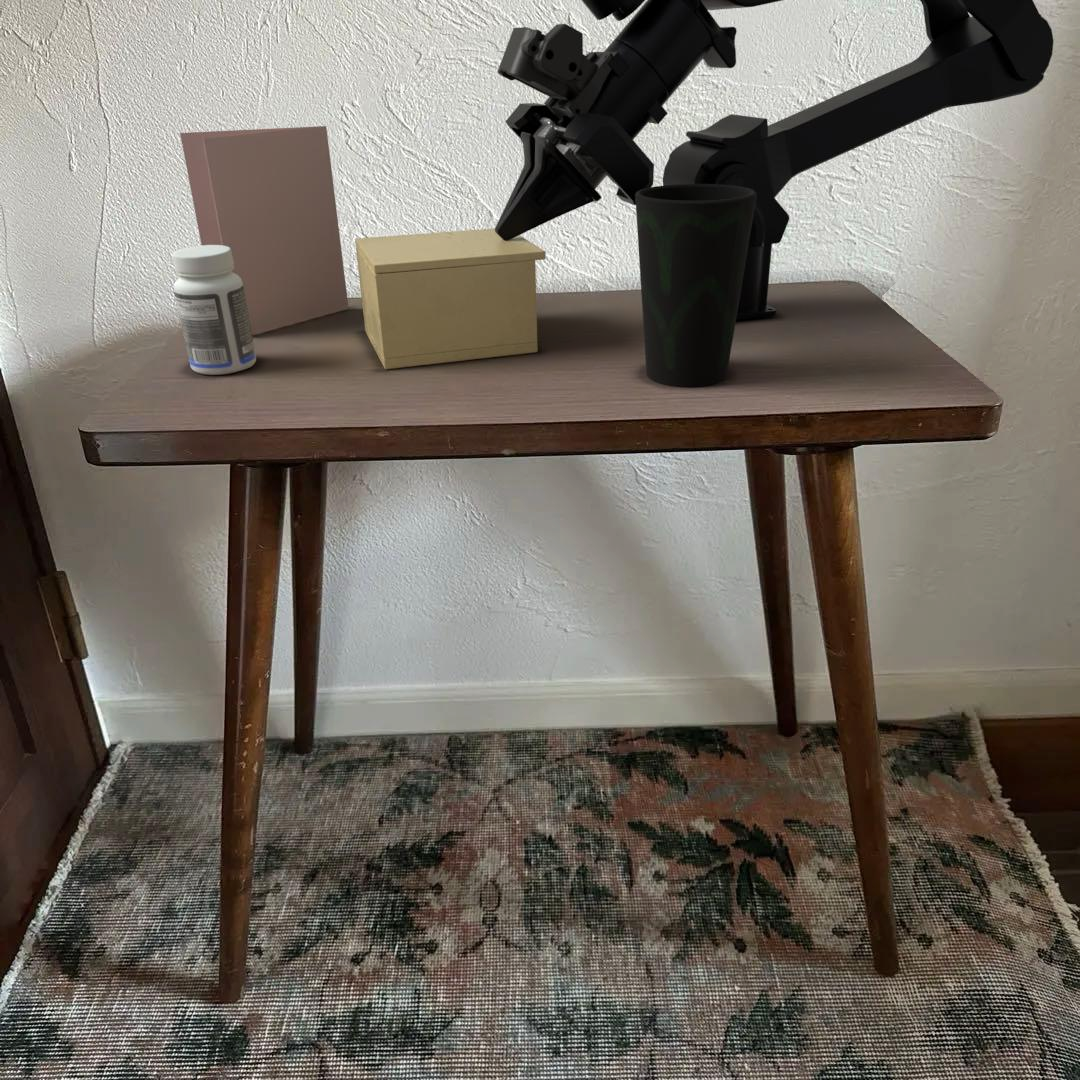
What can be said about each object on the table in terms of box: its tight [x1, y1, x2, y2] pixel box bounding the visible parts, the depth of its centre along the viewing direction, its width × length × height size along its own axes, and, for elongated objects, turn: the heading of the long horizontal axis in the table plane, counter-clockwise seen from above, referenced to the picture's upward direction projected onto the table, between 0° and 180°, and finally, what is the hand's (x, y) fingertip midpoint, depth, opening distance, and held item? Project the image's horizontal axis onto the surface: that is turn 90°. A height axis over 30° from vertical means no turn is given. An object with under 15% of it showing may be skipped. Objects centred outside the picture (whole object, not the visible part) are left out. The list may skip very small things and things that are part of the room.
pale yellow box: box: [355, 246, 539, 370], centre depth 72 cm, size 12×11×7 cm
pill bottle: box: [171, 245, 257, 376], centre depth 68 cm, size 5×5×8 cm
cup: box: [635, 184, 757, 388], centre depth 62 cm, size 8×8×12 cm
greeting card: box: [179, 125, 350, 336], centre depth 77 cm, size 11×7×15 cm, turn 105°
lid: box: [354, 227, 547, 274], centre depth 70 cm, size 12×11×1 cm
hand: (499, 236), depth 71 cm, fingers closed, pressing on lid
